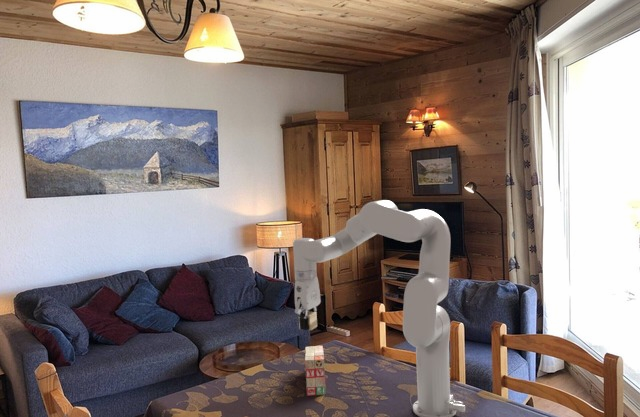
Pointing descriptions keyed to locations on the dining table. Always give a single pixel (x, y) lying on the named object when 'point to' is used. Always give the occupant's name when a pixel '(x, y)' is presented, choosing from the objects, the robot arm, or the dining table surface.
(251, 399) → the dining table surface
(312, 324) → the tan metal block
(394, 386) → the dining table surface
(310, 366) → the stack of blocks
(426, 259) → the robot arm
